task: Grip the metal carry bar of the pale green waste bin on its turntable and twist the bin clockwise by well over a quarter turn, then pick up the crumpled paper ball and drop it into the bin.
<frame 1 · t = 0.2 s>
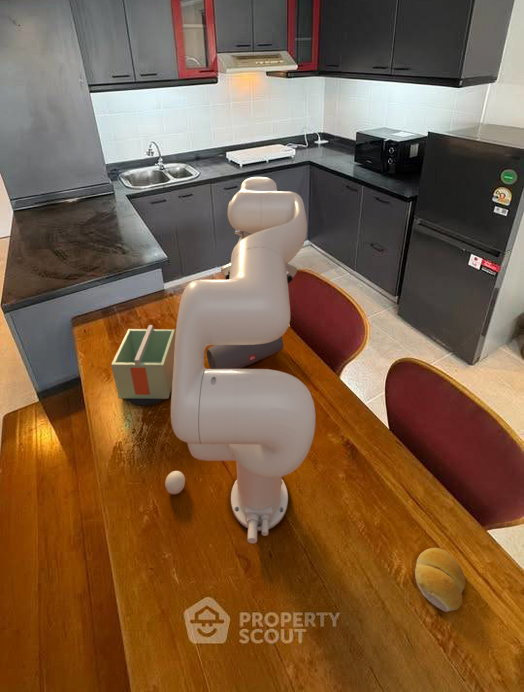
hand: (259, 298, 90), 37 cm above the table, tool pointing down, fingers open, 9 cm apart
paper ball: (175, 482, 85), point 2 cm above the table
bin: (147, 360, 110), point 8 cm above the table, hinge at 0.0°
turntable: (151, 381, 113), on the table
bluetooth speaker: (245, 362, 120), on the table
bread roll: (438, 582, 71), on the table
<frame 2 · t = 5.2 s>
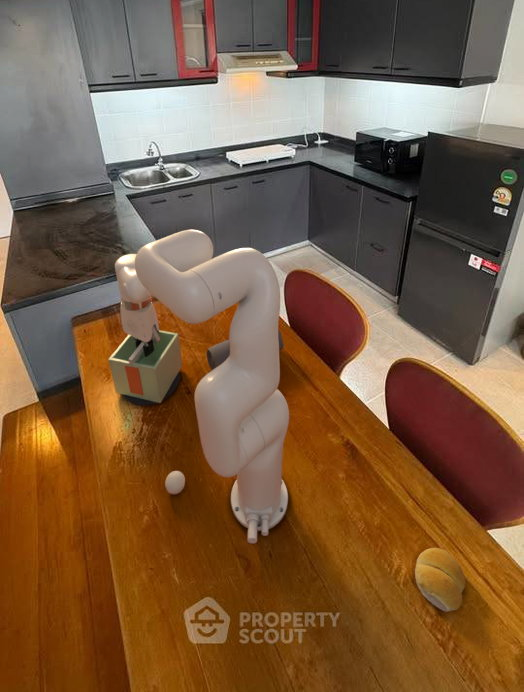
hand: (145, 351, 108), 12 cm above the table, tool pointing down, fingers closed on bin, 2 cm apart
bin: (147, 360, 110), point 8 cm above the table, hinge at -13.8°, touching gripper
everything else where it was.
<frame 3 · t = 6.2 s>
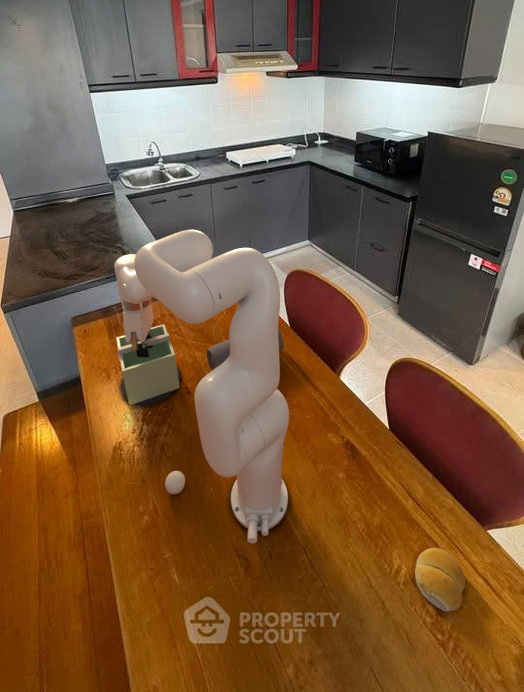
hand: (145, 351, 108), 12 cm above the table, tool pointing down, fingers closed on bin, 3 cm apart
bin: (147, 360, 110), point 8 cm above the table, hinge at -64.3°, touching gripper
everything else where it was.
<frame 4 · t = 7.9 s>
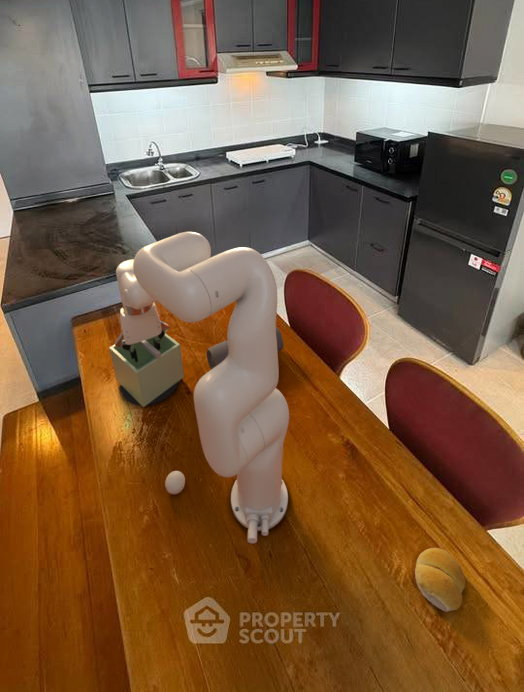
hand: (146, 354, 109), 11 cm above the table, tool pointing down, fingers open, 5 cm apart
bin: (147, 360, 110), point 8 cm above the table, hinge at -130.6°
everything else where it was.
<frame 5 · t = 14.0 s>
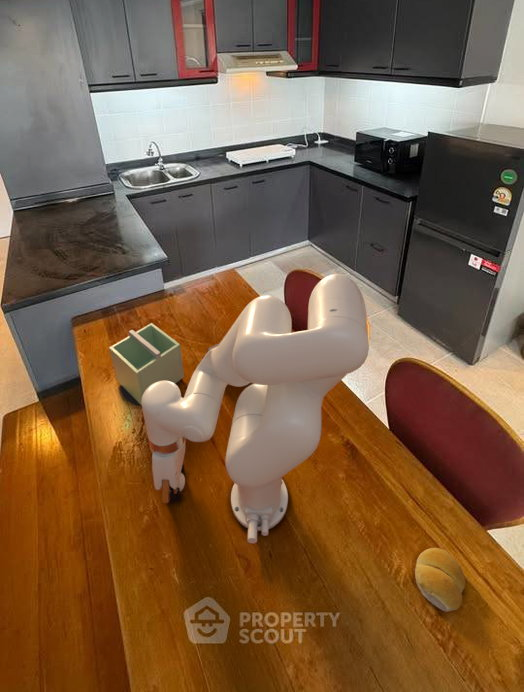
hand: (175, 487, 86), 0 cm above the table, tool pointing down, fingers closed on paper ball, 4 cm apart
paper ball: (175, 482, 85), point 2 cm above the table, touching gripper
everything else where it was.
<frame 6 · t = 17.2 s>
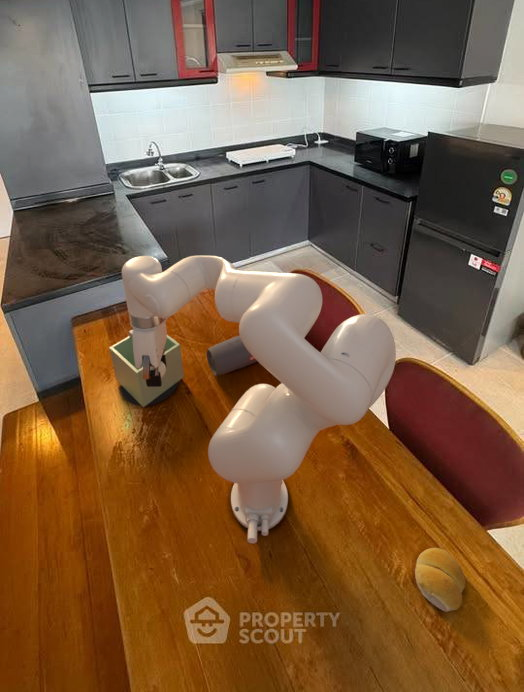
hand: (157, 376, 87), 23 cm above the table, tool pointing down, fingers closed on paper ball, 4 cm apart
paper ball: (155, 370, 86), point 25 cm above the table, touching gripper
everything else where it was.
when the fingers open (16 cm above the table, at t = 20.5 s): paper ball drops 14 cm, resting on bin.
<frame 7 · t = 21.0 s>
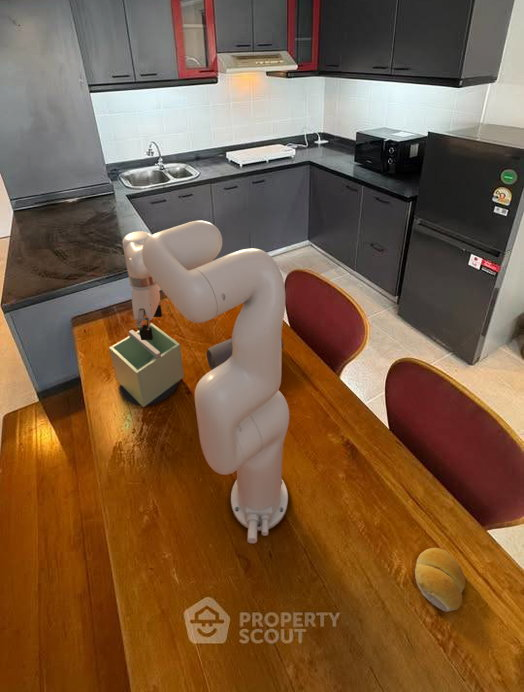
hand: (152, 327, 108), 18 cm above the table, tool pointing down, fingers open, 9 cm apart
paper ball: (157, 363, 114), point 4 cm above the table, touching bin
bin: (147, 360, 110), point 8 cm above the table, hinge at -130.6°, touching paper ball
everything else where it was.
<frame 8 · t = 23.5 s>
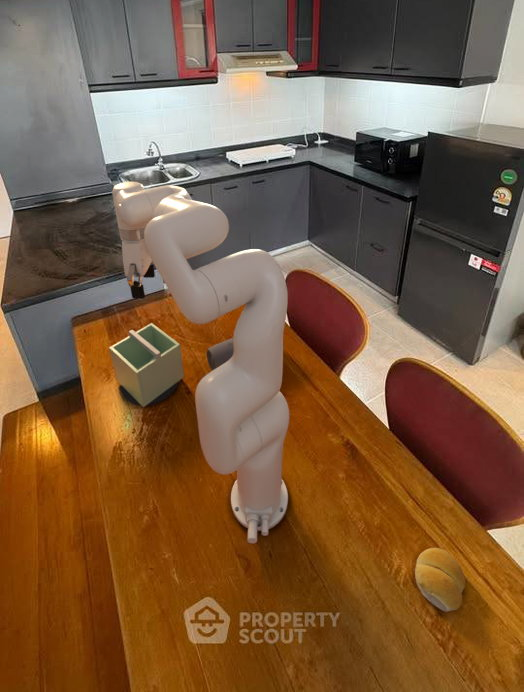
hand: (144, 286, 103), 31 cm above the table, tool pointing down, fingers open, 9 cm apart
nothing on the table moved.
at the end: bin at -131° (first picture: +0°); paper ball inside the target area on the bin (3.3 cm from its centre), point 4.2 cm above the bin's base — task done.
